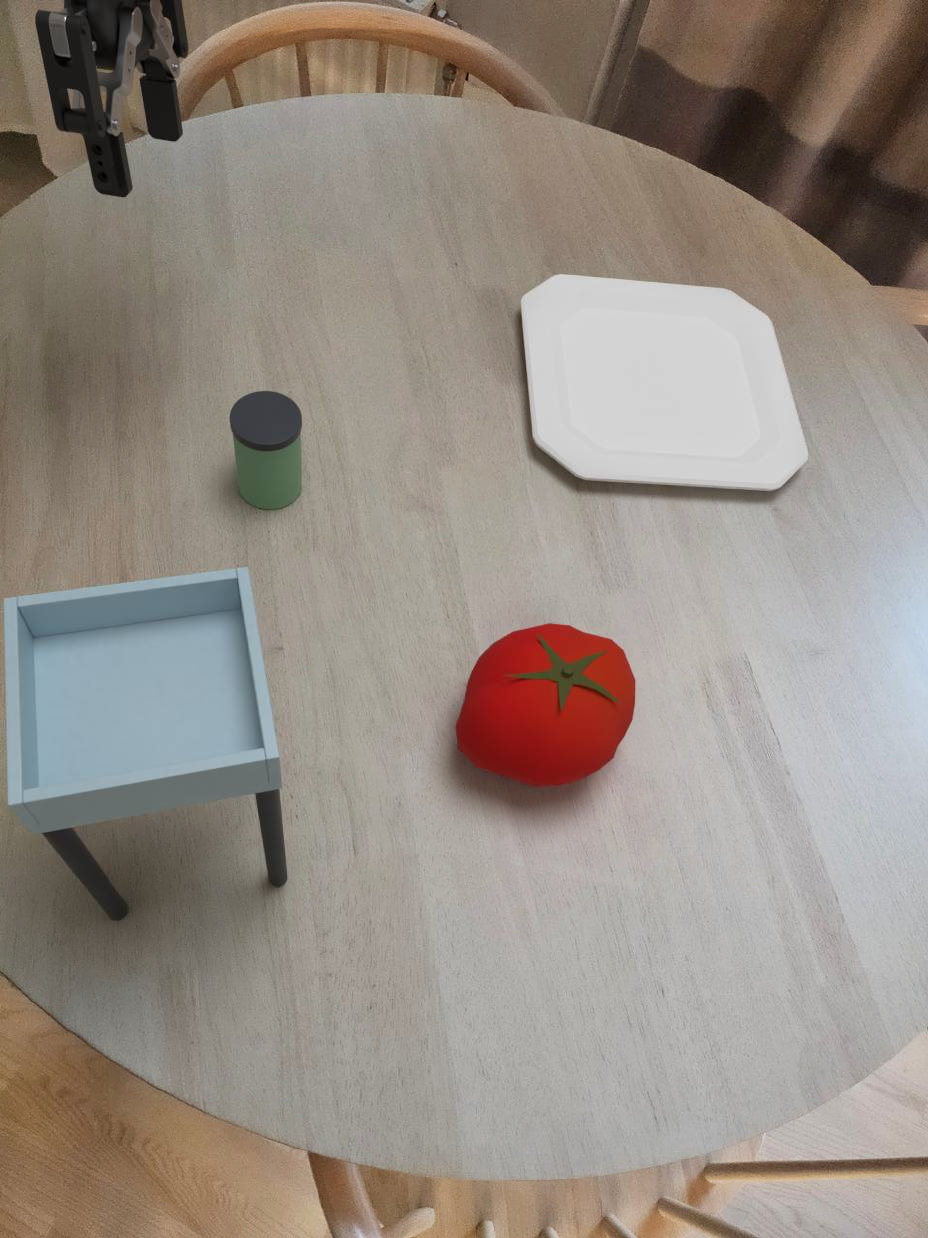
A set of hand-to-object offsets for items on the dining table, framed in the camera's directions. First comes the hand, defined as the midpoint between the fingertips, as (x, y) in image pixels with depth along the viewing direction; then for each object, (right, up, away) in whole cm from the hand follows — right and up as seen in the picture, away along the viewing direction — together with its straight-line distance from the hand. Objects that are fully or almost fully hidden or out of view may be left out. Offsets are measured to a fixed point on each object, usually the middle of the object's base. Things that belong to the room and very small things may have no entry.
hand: (141, 164), depth 62 cm
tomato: (+26, -38, +7) cm, 47 cm away
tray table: (+3, -43, 0) cm, 43 cm away
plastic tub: (+5, -19, +14) cm, 24 cm away
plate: (+39, -9, +26) cm, 47 cm away
